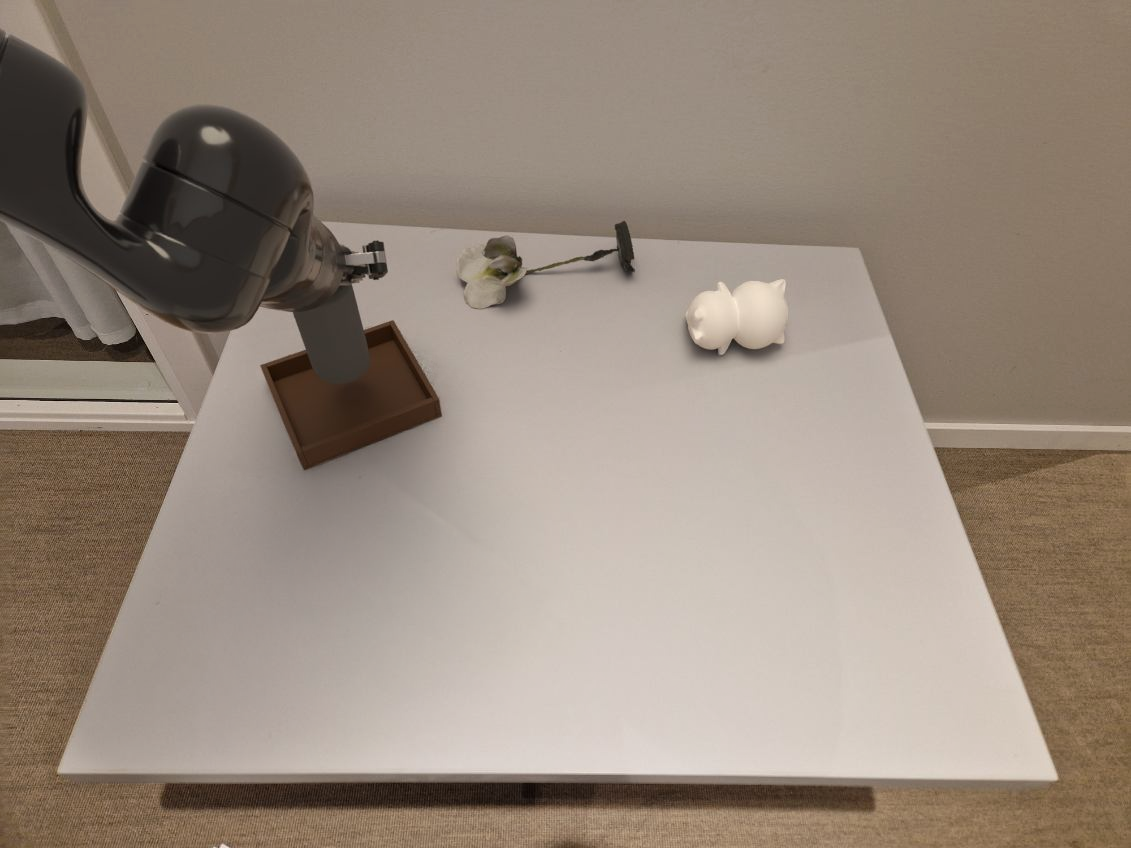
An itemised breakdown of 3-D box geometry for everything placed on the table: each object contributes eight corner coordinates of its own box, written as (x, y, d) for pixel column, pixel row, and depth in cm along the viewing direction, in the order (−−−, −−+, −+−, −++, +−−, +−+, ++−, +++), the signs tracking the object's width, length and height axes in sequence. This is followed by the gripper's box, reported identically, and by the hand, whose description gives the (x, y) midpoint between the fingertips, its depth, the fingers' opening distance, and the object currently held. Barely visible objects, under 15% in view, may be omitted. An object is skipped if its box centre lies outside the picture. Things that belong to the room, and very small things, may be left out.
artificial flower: (640, 296, 93) (647, 252, 84) (468, 327, 93) (454, 286, 83) (626, 239, 97) (630, 190, 87) (458, 268, 96) (444, 222, 86)
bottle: (342, 334, 77) (308, 217, 66) (383, 359, 75) (355, 242, 64) (300, 367, 74) (256, 250, 62) (341, 393, 72) (304, 278, 61)
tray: (303, 470, 74) (296, 453, 72) (267, 382, 81) (259, 364, 78) (442, 416, 79) (439, 398, 77) (397, 337, 86) (393, 319, 83)
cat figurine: (696, 291, 79) (802, 279, 80) (669, 276, 89) (763, 265, 90) (698, 369, 82) (799, 355, 83) (671, 346, 92) (762, 334, 93)
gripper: (376, 193, 52) (391, 226, 68) (162, 212, 50) (231, 242, 66) (392, 298, 53) (403, 306, 70) (183, 322, 51) (246, 324, 67)
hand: (319, 275), depth 68 cm, fingers closed on bottle, 5 cm apart
